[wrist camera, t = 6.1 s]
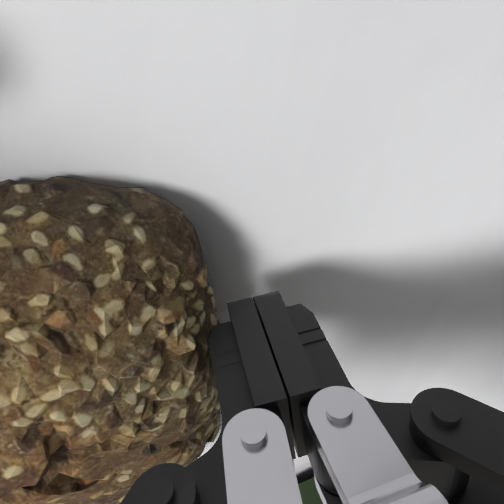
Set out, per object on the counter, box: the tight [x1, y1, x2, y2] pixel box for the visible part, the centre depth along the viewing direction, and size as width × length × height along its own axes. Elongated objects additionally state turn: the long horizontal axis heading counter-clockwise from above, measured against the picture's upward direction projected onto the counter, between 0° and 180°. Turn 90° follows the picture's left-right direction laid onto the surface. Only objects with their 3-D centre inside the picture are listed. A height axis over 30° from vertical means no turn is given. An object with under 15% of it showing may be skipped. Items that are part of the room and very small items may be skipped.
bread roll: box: [0, 176, 221, 504], centre depth 11 cm, size 13×12×5 cm
